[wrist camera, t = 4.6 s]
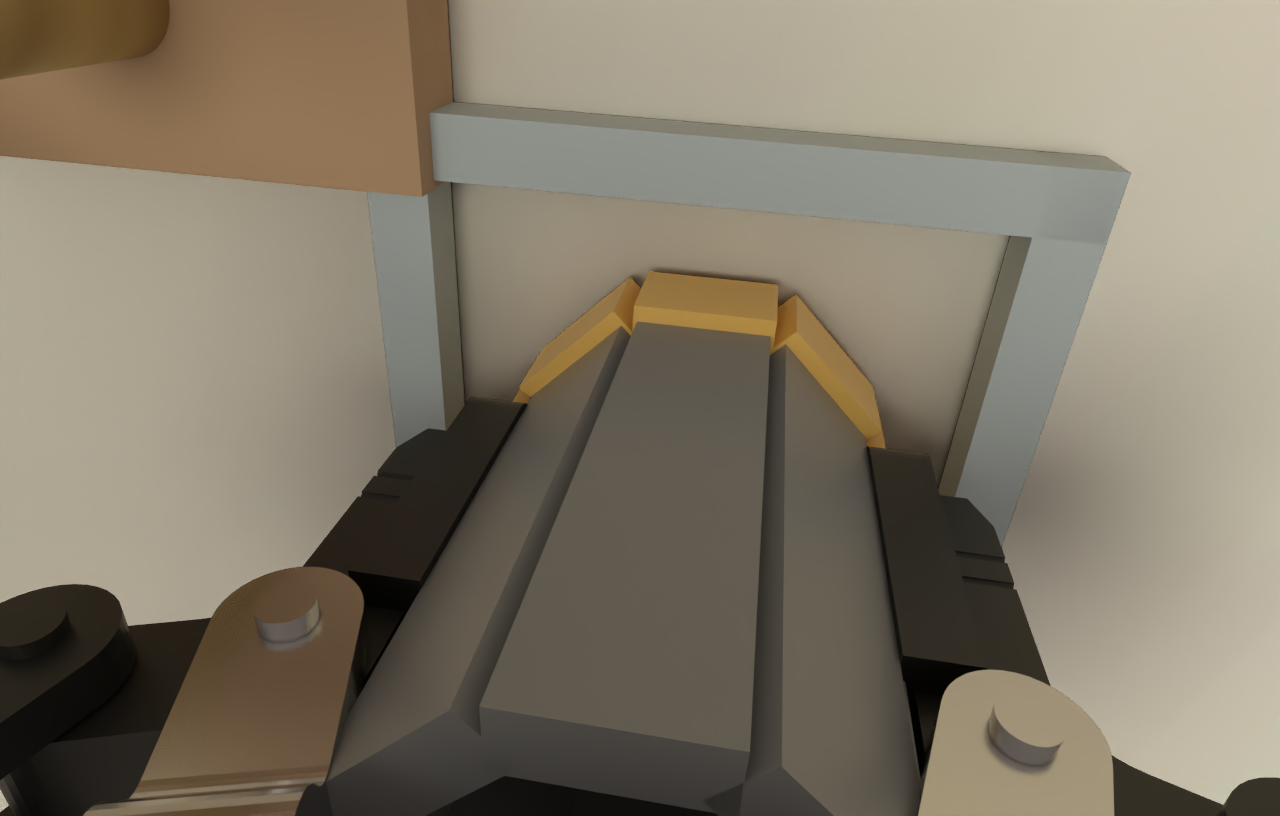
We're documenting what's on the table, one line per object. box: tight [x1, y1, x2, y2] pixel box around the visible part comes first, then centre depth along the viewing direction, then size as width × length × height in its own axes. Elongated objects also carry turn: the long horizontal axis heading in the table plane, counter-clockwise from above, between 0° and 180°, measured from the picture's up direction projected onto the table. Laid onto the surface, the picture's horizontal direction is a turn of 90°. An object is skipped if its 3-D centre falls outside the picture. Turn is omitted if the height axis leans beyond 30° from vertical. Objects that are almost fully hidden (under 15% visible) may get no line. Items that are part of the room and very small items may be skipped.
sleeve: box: [326, 271, 920, 816], centre depth 9 cm, size 5×5×7 cm
